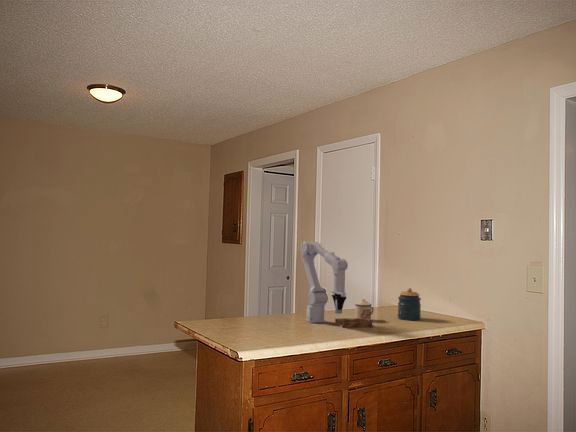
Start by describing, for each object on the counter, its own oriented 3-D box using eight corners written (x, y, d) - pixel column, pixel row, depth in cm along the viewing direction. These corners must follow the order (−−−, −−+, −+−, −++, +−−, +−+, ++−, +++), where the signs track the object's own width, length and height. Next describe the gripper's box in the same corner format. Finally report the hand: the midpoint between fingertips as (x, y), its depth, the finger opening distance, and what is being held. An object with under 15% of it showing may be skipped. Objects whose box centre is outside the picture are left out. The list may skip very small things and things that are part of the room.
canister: (423, 321, 275) (423, 289, 276) (400, 320, 276) (400, 289, 276) (417, 317, 288) (418, 287, 289) (395, 316, 289) (396, 286, 289)
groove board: (343, 327, 249) (343, 322, 249) (335, 323, 260) (335, 318, 260) (372, 327, 253) (372, 322, 253) (362, 322, 264) (363, 318, 264)
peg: (336, 313, 249) (336, 299, 250) (334, 312, 253) (334, 299, 253) (342, 313, 250) (343, 299, 250) (340, 312, 254) (340, 299, 254)
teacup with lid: (362, 321, 267) (362, 300, 267) (351, 319, 275) (351, 298, 275) (378, 320, 273) (378, 299, 274) (367, 317, 281) (368, 297, 282)
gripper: (327, 281, 258) (326, 307, 258) (336, 284, 244) (335, 311, 244) (340, 281, 260) (339, 306, 259) (349, 284, 246) (349, 311, 245)
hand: (338, 309), depth 252 cm, fingers closed on peg, 3 cm apart
